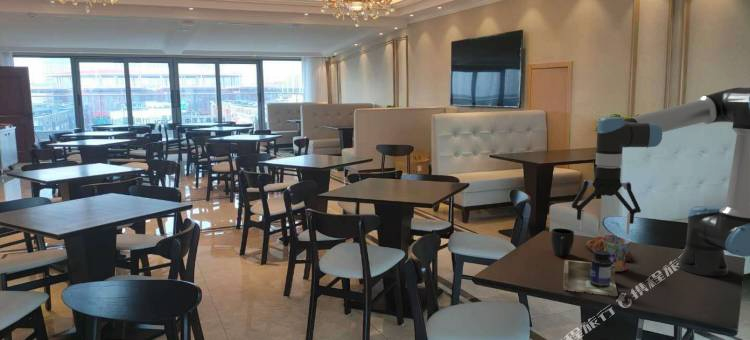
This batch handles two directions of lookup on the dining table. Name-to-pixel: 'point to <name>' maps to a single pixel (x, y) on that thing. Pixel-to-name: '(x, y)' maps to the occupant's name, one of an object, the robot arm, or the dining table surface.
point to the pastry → (598, 245)
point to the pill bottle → (600, 269)
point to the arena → (585, 279)
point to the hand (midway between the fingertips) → (603, 231)
